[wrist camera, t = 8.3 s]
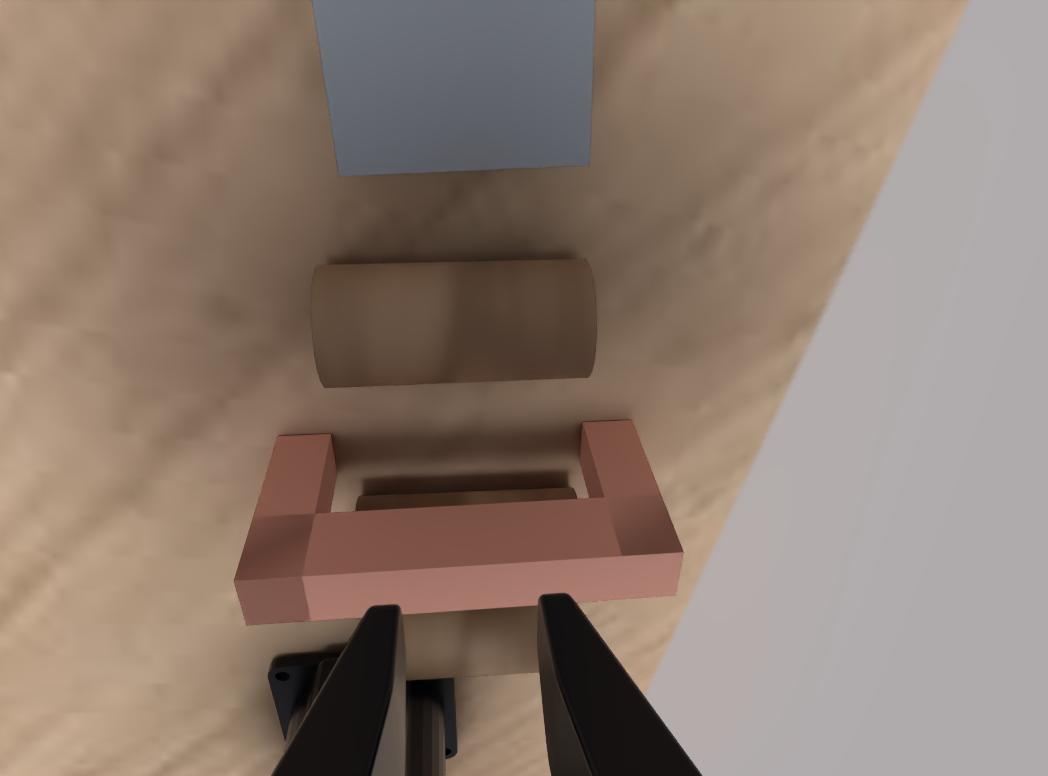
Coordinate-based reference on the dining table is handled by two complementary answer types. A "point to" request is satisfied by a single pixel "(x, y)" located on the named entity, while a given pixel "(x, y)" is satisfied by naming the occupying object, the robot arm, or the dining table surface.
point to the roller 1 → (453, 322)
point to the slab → (457, 83)
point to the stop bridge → (454, 541)
